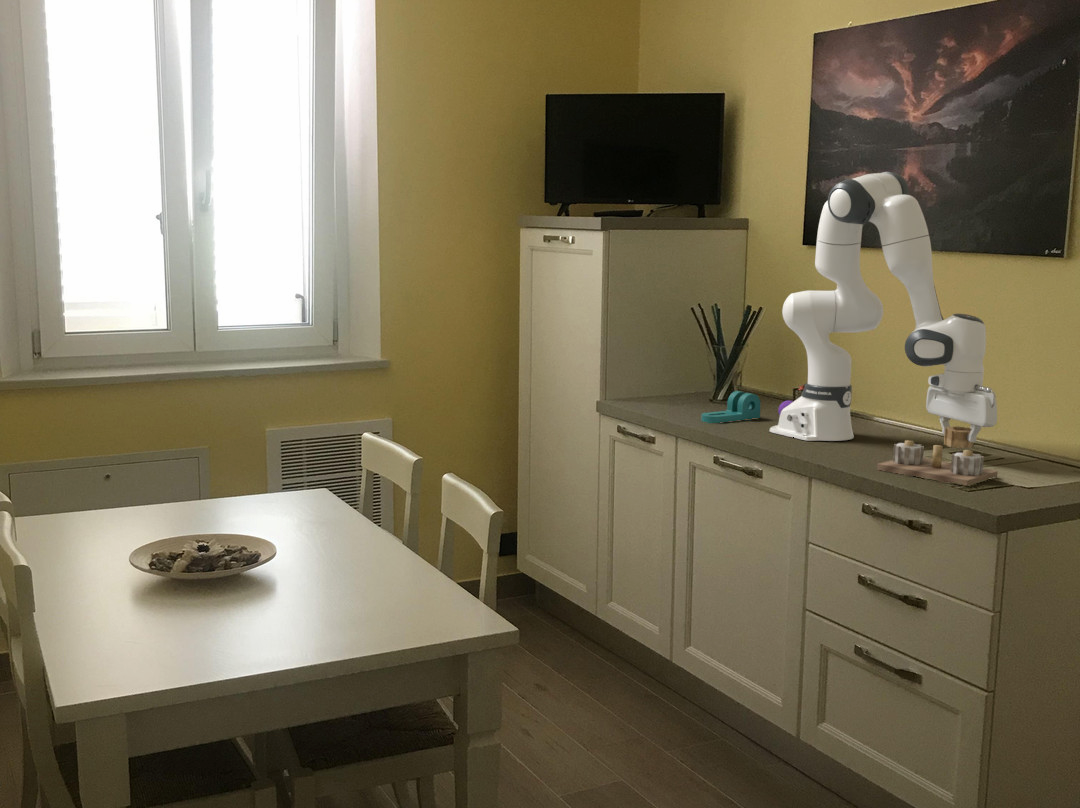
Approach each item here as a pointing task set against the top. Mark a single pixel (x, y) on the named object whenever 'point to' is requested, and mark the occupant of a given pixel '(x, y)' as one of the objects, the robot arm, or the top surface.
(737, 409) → the bracket
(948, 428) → the oak gear
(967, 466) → the gear board
